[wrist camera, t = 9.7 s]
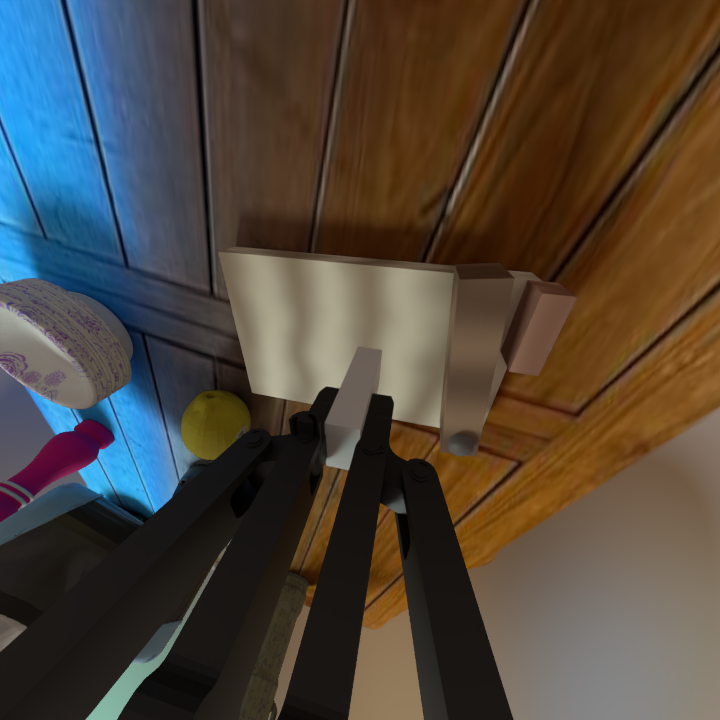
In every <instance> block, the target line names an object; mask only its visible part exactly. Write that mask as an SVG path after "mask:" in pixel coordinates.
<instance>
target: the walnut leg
mask: <svg viewBox="0 0 720 720" xmlns="http://www.w3.org/2000/svg"><path fill="white" fill-rule="evenodd" d="M514 280H515V278H514V277H513V276H512V275H511V274H510V273H509V272H508V270H507V269H506V268H505V267H504V266H503V265H502V264H501V263H476V264H455V267H454V277H453V287H452V297H451V308H450V318H449V328H448V339H447V349H446V359H445V370H444V380H443V390H442V400H441V411H440V444H441V452H446V453H453V454H454V455H458V456H466V455H471V456H476V455H477V451H478V446H479V442H480V437H481V432H482V428H483V423H484V419H485V414H486V409H487V405H488V400H489V396H490V391H491V386H492V382H493V377H494V372H495V368H496V363H497V359H498V354H499V349H500V345H501V340H502V336H503V331H504V326H505V322H506V317H507V313H508V308H509V303H510V299H511V294H512V289H513V285H514Z"/></svg>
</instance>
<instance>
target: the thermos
mask: <svg viewBox="0 0 720 720" xmlns="http://www.w3.org/2000/svg"><path fill="white" fill-rule="evenodd" d="M308 586H309V583H308V581H307V580H306V579H305V578H303V577H301V576H300V575H297V574H295V573H292V572H288V575H287V577H286V580H285V583H284V586H283V589H282V591H281V594H280V597H279V600H278V603H277V605H276V608H275V611H274V614H273V617H272V619H271V622H270V625H269V628H268V630H267V633H266V636H265V639H264V642H263V644H262V647H261V650H260V653H259V656H258V658H257V661H256V664H255V667H254V670H253V672H252V675H251V678H250V681H249V684H248V686H247V689H246V692H245V695H244V698H243V702H242V705H241V711H240V717H239V720H268V717H269V713H270V712H271V711H272V714H271V717H270V720H275V718H276V715H277V708H276V704H275V703H274V697H275V694H276V691H277V687H278V677H279V674H280V670H281V667H282V664H283V661H284V658H285V654H286V651H287V648H288V645H289V642H290V638H291V635H292V632H293V629H294V626H295V622H296V619H297V617H298V616H299V614H300V613H301V610H302V607H303V604H304V601H305V597H306V591H307V588H308Z"/></svg>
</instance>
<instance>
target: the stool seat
mask: <svg viewBox="0 0 720 720" xmlns="http://www.w3.org/2000/svg"><path fill="white" fill-rule="evenodd" d="M218 254H219V258H220V262H221V266H222V270H223V275H224V279H225V283H226V287H227V291H228V295H229V299H230V303H231V308H232V312H233V316H234V320H235V324H236V328H237V332H238V336H239V341H240V345H241V349H242V353H243V357H244V361H245V365H246V370H247V374H248V378H249V382H250V386H251V390H252V393H256V394H261V395H266V396H272V397H277V398H283V399H288V400H293V401H299V402H304V403H309V404H313V402H314V401H315V399H316V397H317V395H318V393H319V391H321V390H322V389H323V388H325V387H326V386H328V387H334V388H340V387H341V384H342V382H343V380H344V378H345V375H346V373H347V371H348V368H349V366H350V364H351V362H352V359H353V357H354V355H355V352H356V350H357V348H358V347H365V348H372V349H379V350H382V358H381V368H380V378H379V387H378V391H377V394H381V395H387V396H391V397H392V399H393V401H394V409H393V416H392V419H395V420H401V421H406V422H411V423H417V424H422V425H428V426H433V427H438V428H440V411H441V400H442V390H443V380H444V370H445V359H446V349H447V339H448V328H449V318H450V308H451V297H452V287H453V277H454V267H455V266H452V265H441V264H429V263H418V262H407V261H395V260H384V259H372V258H361V257H349V256H338V255H327V254H315V253H304V252H292V251H281V250H269V249H258V248H247V247H232V248H228V249H225V250H222V251H218ZM508 272H509V273H510V274H511V275H512V276H513V277H514V278H515V280H514V285H513V289H512V294H511V299H510V303H509V308H508V313H507V317H506V322H505V326H504V331H503V336H502V340H501V345H500V349H499V354H498V359H497V363H496V368H495V372H494V377H493V382H492V386H491V391H490V396H489V400H488V405H487V409H486V414H485V419H484V423H485V420H486V418H487V415H488V413H489V411H490V408H491V406H492V403H493V401H494V398H495V396H496V394H497V391H498V389H499V386H500V384H501V381H502V379H503V377H504V374H505V372H506V369H507V368H508V370H509V372H514V373H521V374H528V375H535V376H538V375H539V373H540V371H541V369H542V367H543V365H544V363H545V361H546V359H547V357H548V355H549V353H550V351H551V349H552V347H553V345H554V343H555V341H556V339H557V337H558V335H559V333H560V331H561V329H562V327H563V325H564V323H565V321H566V319H567V317H568V315H569V313H570V311H571V309H572V307H573V305H574V303H575V301H576V299H577V296H576V295H574V294H573V293H571V292H570V291H569V290H567V289H566V288H565V287H563V286H562V285H560V284H559V283H554V282H543V281H542V280H540V279H539V278H538V277H537V276H535V275H534V274H533V273H532V272H521V271H509V270H508ZM484 423H483V425H484Z"/></svg>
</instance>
